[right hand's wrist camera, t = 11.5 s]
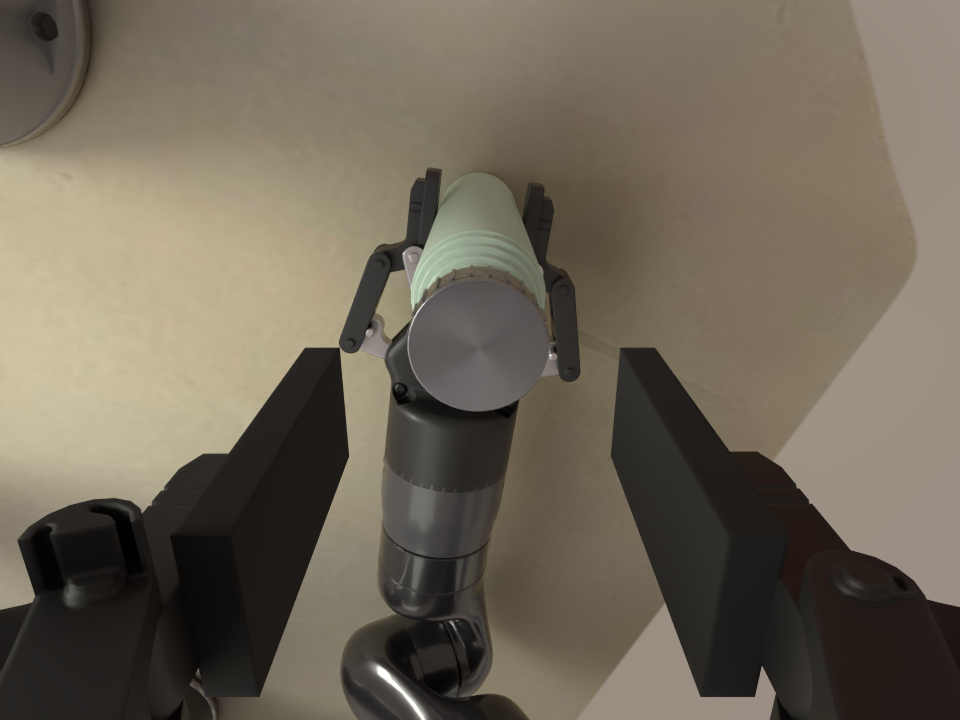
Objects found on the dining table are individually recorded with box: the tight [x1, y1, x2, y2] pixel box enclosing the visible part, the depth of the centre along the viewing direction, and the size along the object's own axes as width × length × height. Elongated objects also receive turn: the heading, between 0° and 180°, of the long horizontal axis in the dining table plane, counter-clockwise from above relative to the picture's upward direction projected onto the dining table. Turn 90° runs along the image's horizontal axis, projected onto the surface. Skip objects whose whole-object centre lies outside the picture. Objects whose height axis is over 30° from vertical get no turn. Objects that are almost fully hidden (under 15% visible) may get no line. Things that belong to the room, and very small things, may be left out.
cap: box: [407, 265, 550, 411], centre depth 18 cm, size 4×4×2 cm
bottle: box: [411, 172, 546, 311], centre depth 29 cm, size 5×5×24 cm
